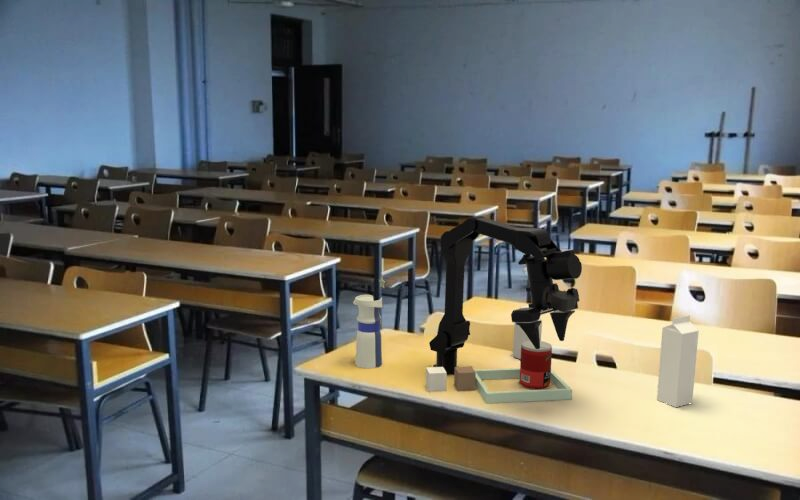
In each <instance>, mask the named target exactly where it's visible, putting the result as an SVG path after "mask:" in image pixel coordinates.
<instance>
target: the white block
mask: <svg viewBox="0 0 800 500" xmlns="http://www.w3.org/2000/svg"><path fill="white" fill-rule="evenodd" d="M425 386H426V389H427V391H428V393H431V392H433V393H435V392H447V373H446V371H445V369H444V368H443V367H433V366H432V367H430V366H429V367H428V366H427V367H426V368H425Z"/></svg>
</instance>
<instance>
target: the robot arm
mask: <svg viewBox="0 0 800 500" xmlns="http://www.w3.org/2000/svg"><path fill="white" fill-rule="evenodd" d="M480 235H483V236H485V237H488V238H491V239H495V240H497V241H502V242H504V243H507V244H510V245H512V247H513V248H514V249H515V250H517V251H519V252H520V253H522V254H523V256H522V257H521V259H519V261H518V262H517V264H518V265H520V266H521V265H522V266H523V265H526V273H527V279H528V286H527V287H525V291H526V292H527V293H528V292H529V293H530V300H531V302H530V303H528V306H529V308H521V309H520V308H518V309H513V310H512V312H511V314H510V317H511V323H514V322H516V325H519V326H520V327H521V328H522V330H523V331H524V332H525V334H526V335H527V336H528V338H529V339H530V341H531V342H532V344H533V345H534V347H535V348H536V349H540V338H539V325H540V324H541V322H542V323H543V320H542V321H538V320H539V318H541V316H542V315H545V314H548V313H549V315H550V318H551V321H552V323H553V326H554V329H555V332H556V335H557V338H558V340H559V341H560V342H564V341H565V338H566V337H565V336H566V331H567V326H568V322H569V319H570V317H571V316H572V315H573V314H574V313H575V312H576V310H577V309H579V304H578V303H579V302H580V295H579V291H578V288H575V287H571V288H568V289H567V290H560V289H559V285H558V283H555V282H554V281H561V280H562V281H563V280H575V279H579V278H580V276H581V275H582V269H583V265H582V261H581V260H580V258H579V257H578V255H576V253H575V249H568V250H563V251H562V250H561V249H560V248H559V247H558V245H557V244H556V243H555V241H553V239H552V238H551V236H550V234H549V232H548V231H547V230H546V229H545V228H544V229H543V228H533V227H517V226H514V225H511V224H507V223H504V222H501V221H497V220H494V219H490V218H487V217H485V216H482V215H475V216H470V217H468V218H467V219H465V220H464V221H462V222H461V223H460V224H459V225H456V226H454V227H453V228H451V229H450V230H446V231H445V232H443V233H442V234H441V236H440V241H439V243H440V252H441V255H442V257H443V259H444V261H445V265H446V266H445V291H444V314H443V316H442V317H441V320H440V321H439V324H438V326H437V334H436V336H434V338H432V339H431V340H430V341H429V342H428V344H429V348H430V351H432V352H435V353H436V356H435V357H436V361H435V363H436V364H433V366H432V367H443V368H444V369H445V371H446V373H447V374H455V367H458V349H461V348H464V346H465V342H467V341H468V338H469V336H471V331H470V326H471V322H470V320H467V319H466V317H465V316H464V313H463V312H464V311H463V309H464V292H465V291H464V290H465V287H464V286H465V285H464V284H465V267H466V266H465V264H466V261H467V259H468V258H469V256H470V253H471V250H472V245H473V242H474V241H475V240H476V239H478V238H479V237H480Z"/></svg>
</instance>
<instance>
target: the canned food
mask: <svg viewBox="0 0 800 500" xmlns="http://www.w3.org/2000/svg"><path fill="white" fill-rule="evenodd" d="M552 354H553V345H552V344H550V343H548V342H546V341H542V340H541V341H540V349H536V348H535V347H534V345H533V344H532V342H531V341H525V342H523V343H522V344H521V359H520V363H519V364H520V365H519V366H520V367H519V368H520V378H519V383H520V385H521V386H522V387H524V388H526V389H528V390H546V389H547V388H548V389H549V386H550V384H551V381H550V377H551V369H552V356H553V355H552Z"/></svg>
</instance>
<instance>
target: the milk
mask: <svg viewBox="0 0 800 500" xmlns="http://www.w3.org/2000/svg"><path fill="white" fill-rule="evenodd" d="M690 317H691V316H690V315H683V316H678V317H677V316H676V317H673V318H672V323H671V324H669V325H666V326H663V327H662V328H661V329H662V331H661V343H660V353H659V354H660V356H659V367H658V368H659V369H658V379H657V380H658V382H657V395H656V400H657V401H659V402H661V403H663V402H664V404H666V403H667V404H666V405H668V404H669V405H668V406H670V405H672V406H671V407H673V406H674V407H673V408H675V407H678V408H680V407H679V406H681V407H684V406H683V405H685V406H687V405H686V404H689V403H692V404H693V400H694V399H693V396H694V386H695V376H696V364H697V363H696V362H697V353H698V343H699V342H698V341H699V330H698V328H697V327H696V326H695V325H694V324H693V323H692V322H691V321H690ZM689 405H690V404H689Z"/></svg>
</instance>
